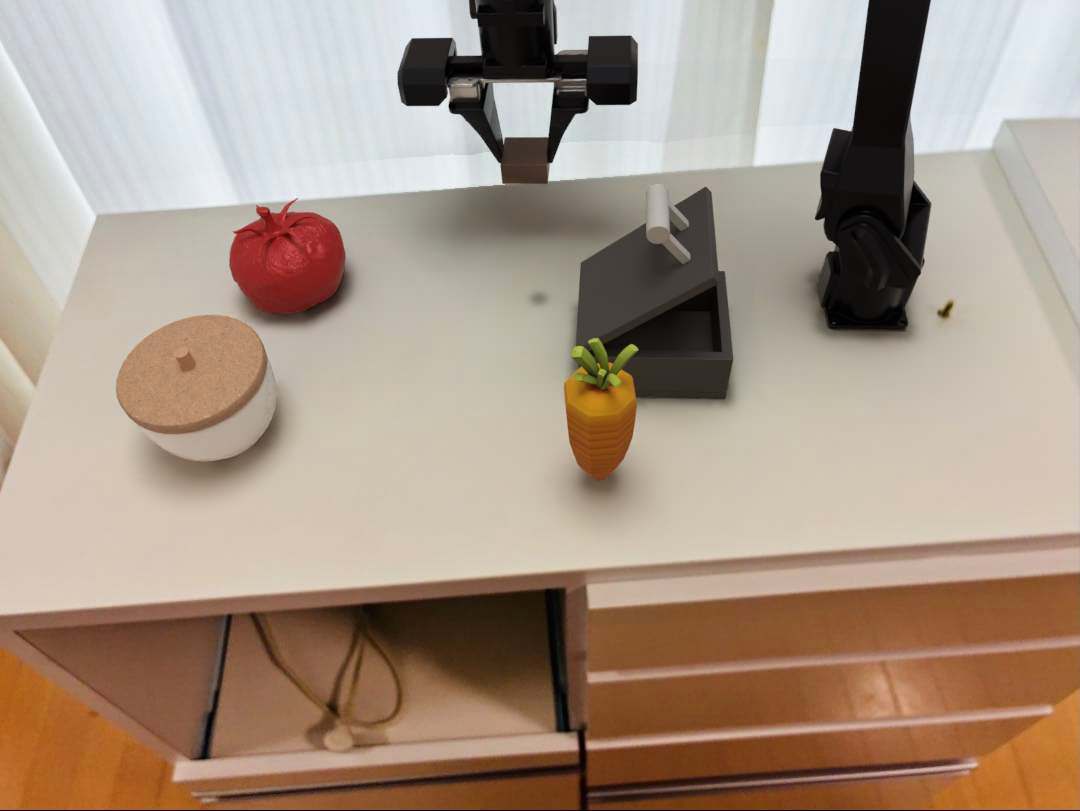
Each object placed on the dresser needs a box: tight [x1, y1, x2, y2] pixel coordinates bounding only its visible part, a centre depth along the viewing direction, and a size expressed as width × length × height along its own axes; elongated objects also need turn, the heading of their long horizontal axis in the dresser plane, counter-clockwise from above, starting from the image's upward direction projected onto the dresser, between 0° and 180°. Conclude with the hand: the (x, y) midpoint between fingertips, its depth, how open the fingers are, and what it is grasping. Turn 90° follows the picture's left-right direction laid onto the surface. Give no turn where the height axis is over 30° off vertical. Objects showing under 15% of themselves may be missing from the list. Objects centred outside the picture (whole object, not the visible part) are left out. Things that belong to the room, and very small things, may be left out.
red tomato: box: [228, 197, 346, 315], centre depth 72 cm, size 10×10×9 cm
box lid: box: [575, 183, 719, 351], centre depth 61 cm, size 12×10×5 cm
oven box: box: [578, 270, 734, 400], centre depth 67 cm, size 12×10×5 cm
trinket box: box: [115, 314, 278, 462], centre depth 63 cm, size 11×11×9 cm
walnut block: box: [499, 136, 551, 185], centre depth 72 cm, size 4×4×2 cm
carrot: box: [563, 338, 639, 481], centre depth 56 cm, size 5×5×15 cm
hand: (526, 160), depth 72 cm, fingers closed on walnut block, 4 cm apart
